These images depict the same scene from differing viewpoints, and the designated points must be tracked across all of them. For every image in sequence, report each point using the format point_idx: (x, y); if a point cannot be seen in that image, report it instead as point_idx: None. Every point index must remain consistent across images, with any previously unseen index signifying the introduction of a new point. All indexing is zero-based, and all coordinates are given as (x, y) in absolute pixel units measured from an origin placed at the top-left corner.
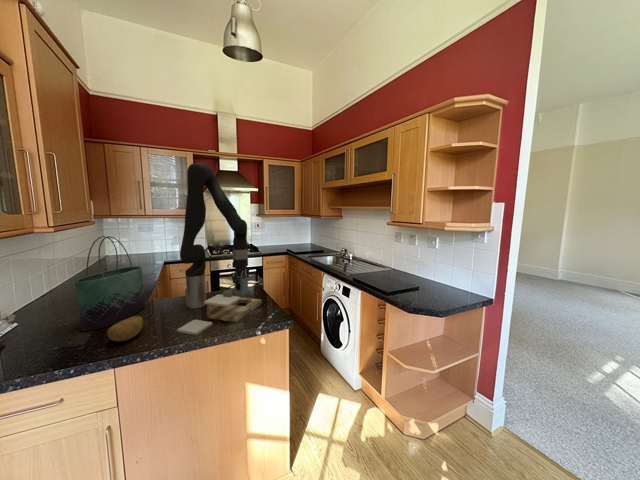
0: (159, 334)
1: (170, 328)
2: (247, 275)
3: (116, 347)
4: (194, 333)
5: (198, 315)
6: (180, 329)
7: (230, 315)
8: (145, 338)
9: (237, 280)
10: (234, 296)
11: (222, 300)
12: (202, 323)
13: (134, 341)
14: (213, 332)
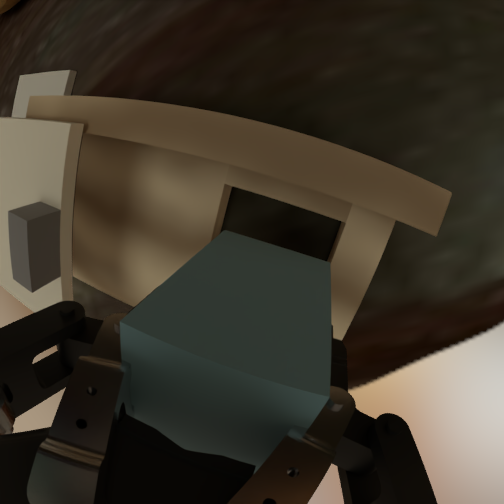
0: (23, 40)
1: (45, 33)
2: (343, 484)
3: (2, 13)
4: None
5: (132, 37)
6: (19, 87)
7: (85, 241)
8: (15, 27)
9: (59, 378)
10: (59, 292)
11: (7, 228)
12: None
13: (11, 19)
14: None
